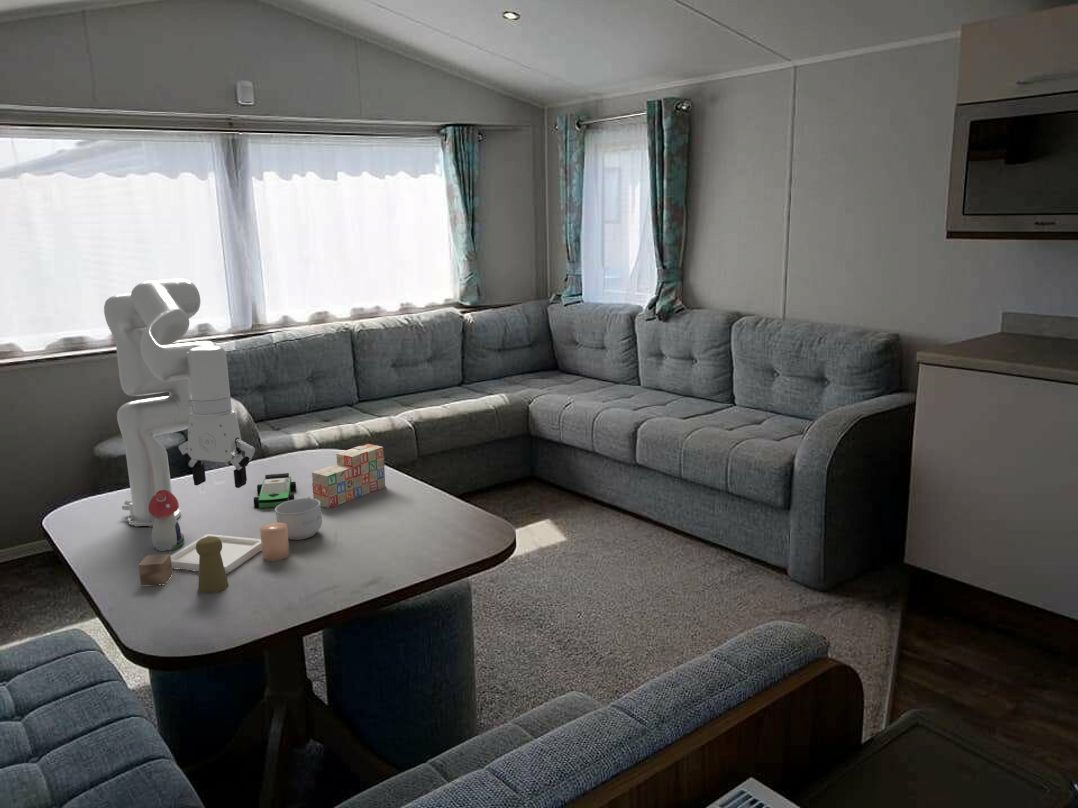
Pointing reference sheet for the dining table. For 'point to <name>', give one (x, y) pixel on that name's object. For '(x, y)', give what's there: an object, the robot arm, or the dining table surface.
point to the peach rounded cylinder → (274, 541)
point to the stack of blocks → (350, 476)
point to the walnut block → (155, 569)
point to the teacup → (300, 517)
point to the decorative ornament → (165, 521)
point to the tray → (231, 553)
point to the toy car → (274, 490)
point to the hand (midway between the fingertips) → (220, 484)
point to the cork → (211, 566)
